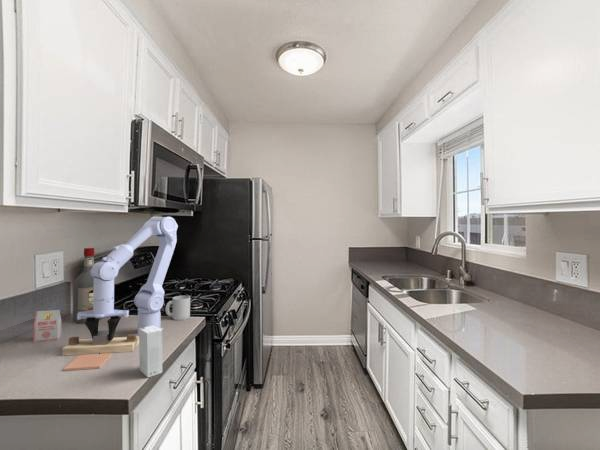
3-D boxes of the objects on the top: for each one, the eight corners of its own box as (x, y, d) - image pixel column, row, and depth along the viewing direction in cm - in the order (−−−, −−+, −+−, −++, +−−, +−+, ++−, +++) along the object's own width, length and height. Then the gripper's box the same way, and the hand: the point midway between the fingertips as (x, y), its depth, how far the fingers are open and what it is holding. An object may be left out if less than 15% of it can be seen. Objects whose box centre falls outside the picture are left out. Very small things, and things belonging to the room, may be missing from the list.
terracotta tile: (79, 356, 95) (79, 355, 95) (111, 354, 97) (111, 353, 97) (63, 370, 86) (63, 368, 86) (99, 368, 88) (99, 366, 88)
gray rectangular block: (99, 339, 103) (99, 330, 103) (112, 338, 104) (113, 330, 104) (92, 345, 98) (93, 336, 98) (106, 344, 99) (107, 335, 99)
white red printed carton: (38, 338, 109) (38, 310, 109) (61, 336, 111) (61, 308, 111) (33, 342, 106) (33, 312, 106) (57, 339, 108) (57, 311, 108)
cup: (191, 319, 134) (191, 298, 134) (166, 322, 129) (166, 300, 129) (188, 314, 140) (188, 294, 140) (164, 317, 135) (164, 297, 135)
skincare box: (163, 373, 86) (163, 329, 86) (146, 378, 83) (147, 333, 83) (154, 365, 90) (154, 324, 90) (137, 370, 87) (138, 327, 87)
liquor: (71, 320, 129) (72, 248, 129) (95, 315, 136) (96, 247, 136) (79, 324, 123) (80, 249, 123) (104, 319, 131) (105, 248, 131)
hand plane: (74, 346, 103) (74, 334, 103) (139, 342, 107) (139, 331, 107) (62, 355, 96) (62, 342, 96) (132, 351, 100) (132, 339, 100)
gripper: (72, 302, 96) (71, 346, 96) (123, 300, 99) (123, 343, 99) (83, 296, 103) (82, 337, 103) (131, 295, 106) (130, 335, 106)
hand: (103, 339), depth 101 cm, fingers closed on gray rectangular block, 4 cm apart
